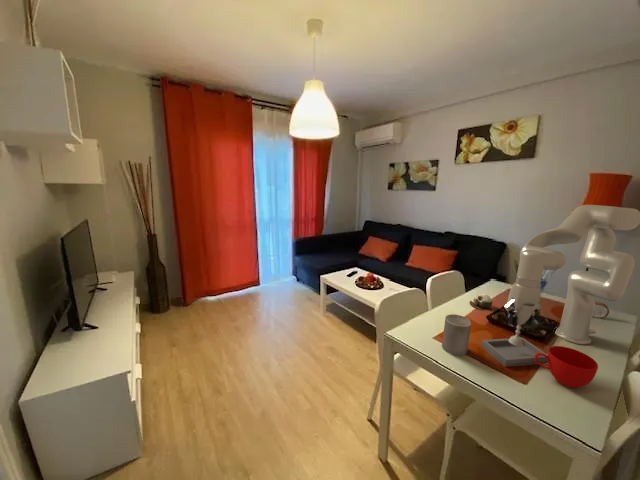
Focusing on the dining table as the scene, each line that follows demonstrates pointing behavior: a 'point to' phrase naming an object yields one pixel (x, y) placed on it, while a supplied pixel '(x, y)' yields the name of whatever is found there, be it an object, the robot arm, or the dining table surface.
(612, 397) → the dining table surface
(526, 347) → the tray
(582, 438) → the dining table surface
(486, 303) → the skull
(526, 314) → the chalice
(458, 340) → the pillar candle
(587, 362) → the ceramic cup
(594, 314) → the tin
